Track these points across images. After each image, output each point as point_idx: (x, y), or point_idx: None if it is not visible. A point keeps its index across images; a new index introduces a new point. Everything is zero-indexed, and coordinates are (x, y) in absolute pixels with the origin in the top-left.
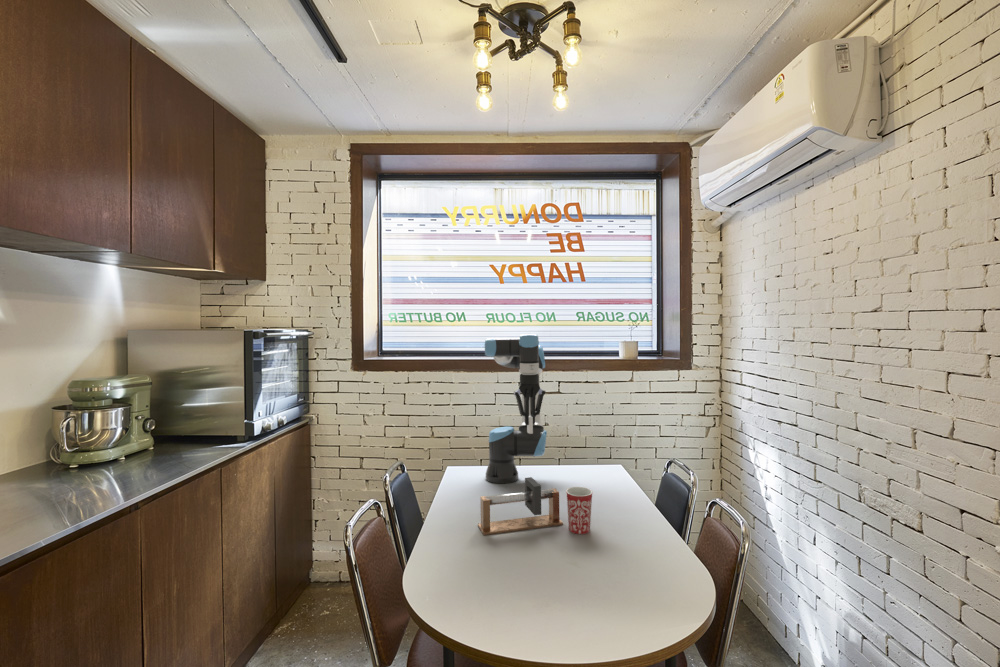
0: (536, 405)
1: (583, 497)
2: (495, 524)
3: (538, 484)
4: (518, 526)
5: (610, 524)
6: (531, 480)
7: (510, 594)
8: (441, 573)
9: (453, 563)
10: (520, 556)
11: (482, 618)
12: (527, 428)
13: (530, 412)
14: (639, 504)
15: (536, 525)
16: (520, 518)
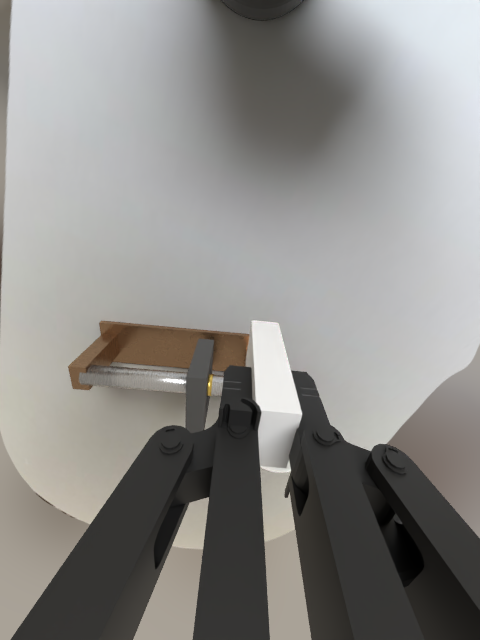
0: (466, 612)
1: (273, 468)
2: (133, 338)
3: (201, 427)
4: (173, 360)
5: (332, 397)
6: (195, 400)
7: (117, 480)
8: (38, 429)
9: (54, 415)
10: (150, 428)
11: (84, 497)
12: (250, 344)
13: (309, 456)
14: (457, 349)
15: None
16: (189, 331)
